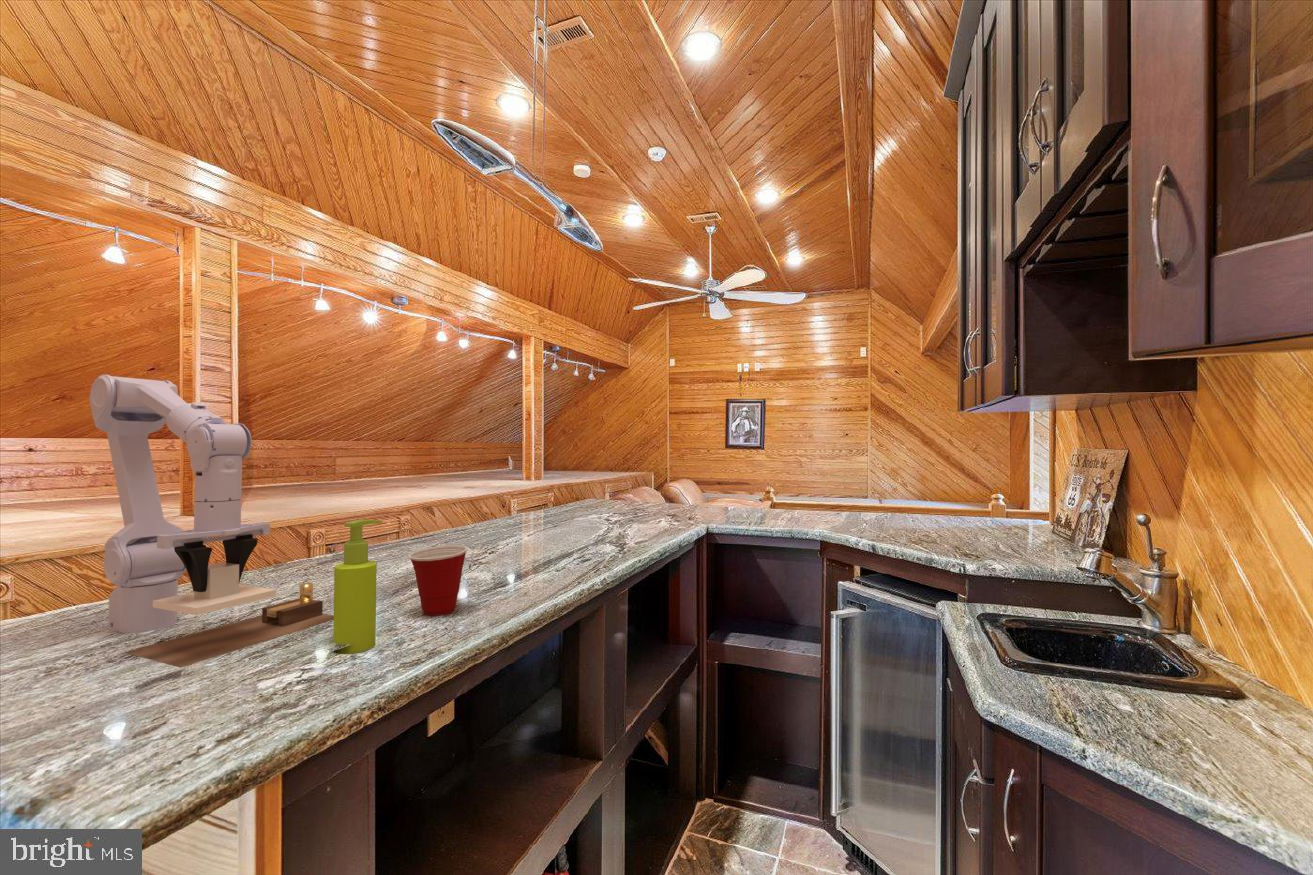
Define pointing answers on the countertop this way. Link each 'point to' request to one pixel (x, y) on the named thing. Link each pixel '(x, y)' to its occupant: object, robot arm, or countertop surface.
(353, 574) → the soap dispenser
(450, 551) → the plastic cup
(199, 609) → the cover
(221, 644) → the box base
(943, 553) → the countertop surface
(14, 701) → the countertop surface
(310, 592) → the brass bolt
